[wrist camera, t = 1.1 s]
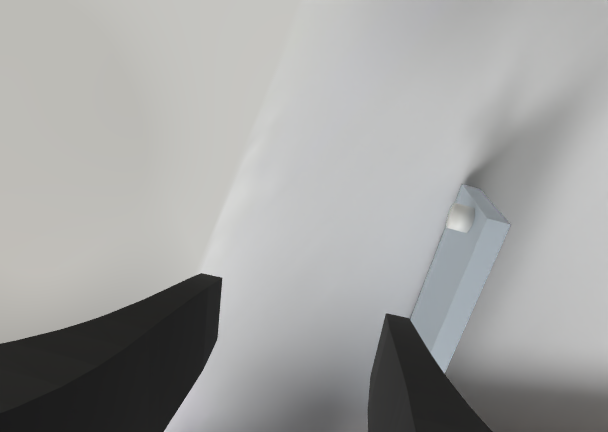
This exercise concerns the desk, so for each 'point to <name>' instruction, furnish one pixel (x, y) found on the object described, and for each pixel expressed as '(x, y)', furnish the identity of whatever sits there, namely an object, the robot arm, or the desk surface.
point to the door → (458, 272)
